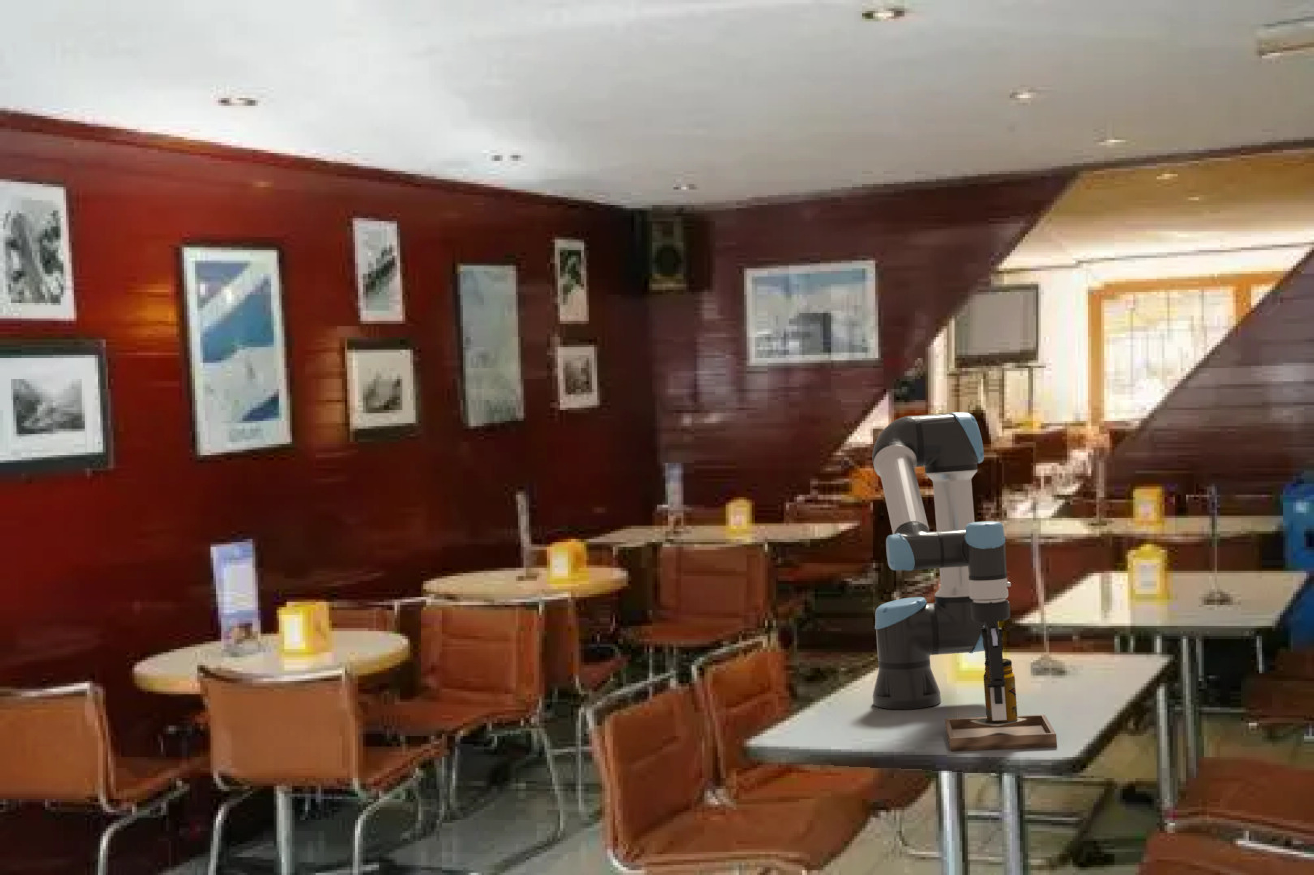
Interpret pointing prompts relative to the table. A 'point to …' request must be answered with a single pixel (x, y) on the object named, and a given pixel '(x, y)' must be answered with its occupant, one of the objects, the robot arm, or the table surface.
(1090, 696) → the table surface
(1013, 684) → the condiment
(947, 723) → the walnut tray
